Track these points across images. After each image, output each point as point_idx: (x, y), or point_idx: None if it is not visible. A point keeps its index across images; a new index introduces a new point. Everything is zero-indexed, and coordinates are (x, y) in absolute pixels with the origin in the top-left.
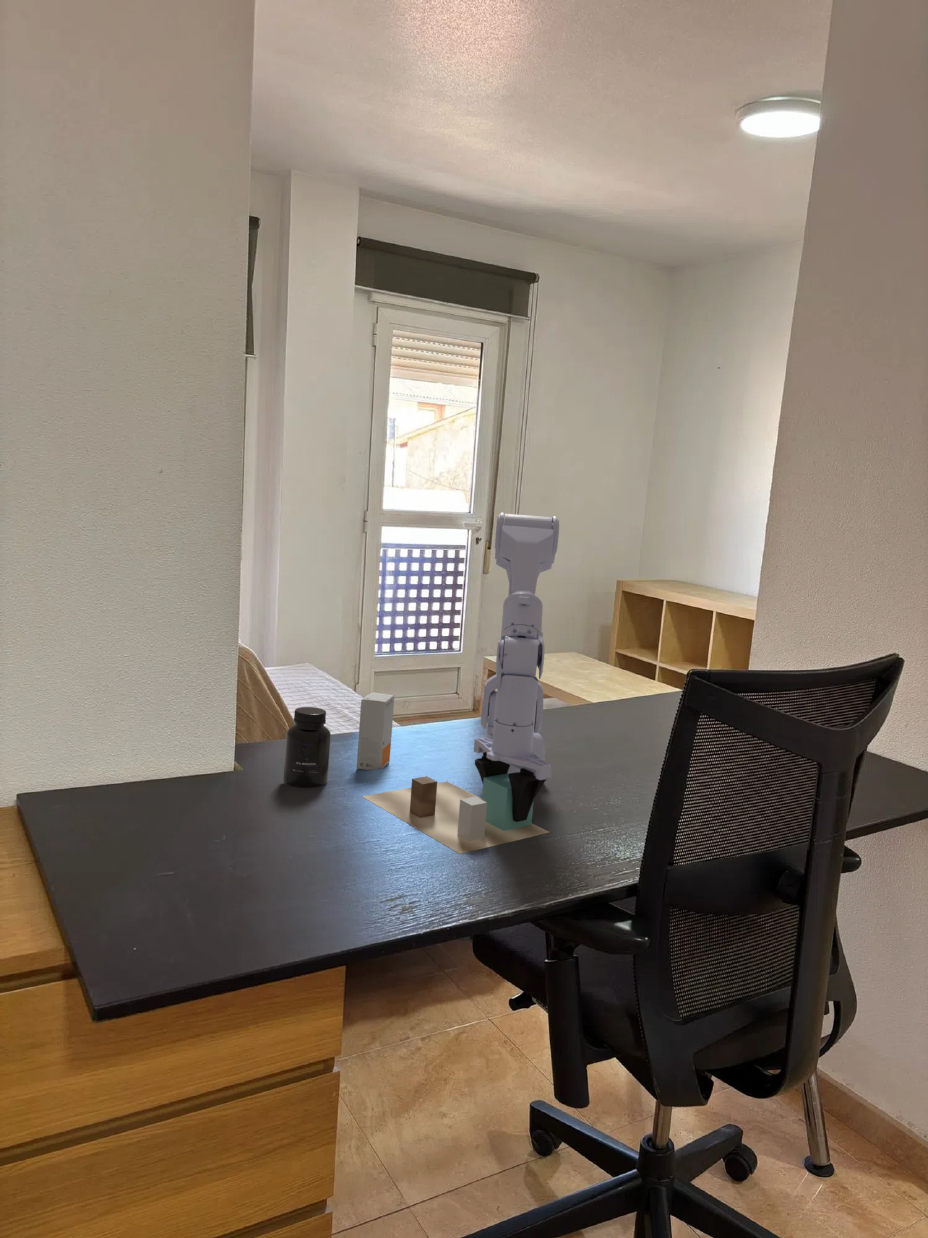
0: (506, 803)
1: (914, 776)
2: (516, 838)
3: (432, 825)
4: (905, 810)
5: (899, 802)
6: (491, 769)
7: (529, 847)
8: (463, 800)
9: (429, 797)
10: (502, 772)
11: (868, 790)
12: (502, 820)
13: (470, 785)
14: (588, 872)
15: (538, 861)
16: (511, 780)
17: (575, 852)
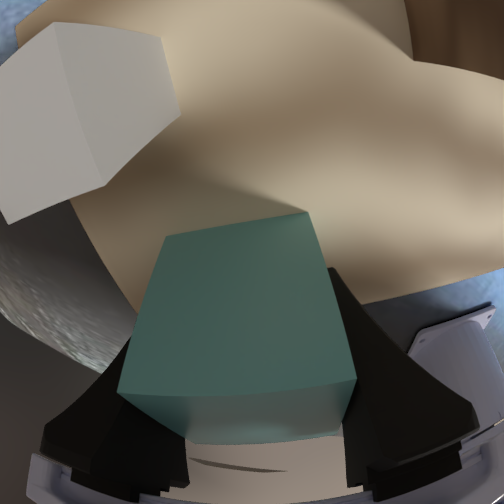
0: (137, 324)
1: (253, 471)
2: (102, 244)
3: None
4: (203, 463)
5: (217, 465)
6: (362, 437)
7: (92, 255)
8: (27, 51)
9: (466, 25)
10: (346, 429)
11: (240, 466)
12: (167, 258)
13: (490, 295)
14: (9, 290)
15: (23, 236)
16: (87, 440)
17: (80, 319)
